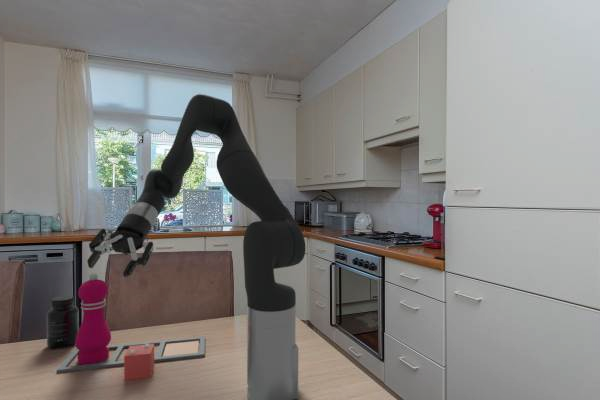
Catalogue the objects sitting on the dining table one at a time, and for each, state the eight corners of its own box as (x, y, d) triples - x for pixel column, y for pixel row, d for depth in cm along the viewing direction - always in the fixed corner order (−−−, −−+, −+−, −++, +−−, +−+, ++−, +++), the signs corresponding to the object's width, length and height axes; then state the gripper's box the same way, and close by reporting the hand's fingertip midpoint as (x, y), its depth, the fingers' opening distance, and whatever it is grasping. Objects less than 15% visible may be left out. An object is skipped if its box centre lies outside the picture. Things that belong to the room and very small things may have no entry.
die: (154, 366, 77) (154, 341, 77) (150, 377, 72) (150, 350, 72) (129, 368, 76) (129, 343, 76) (124, 380, 71) (124, 353, 71)
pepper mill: (94, 367, 77) (94, 277, 76) (67, 364, 78) (67, 275, 78) (118, 353, 84) (118, 270, 84) (92, 350, 85) (92, 269, 85)
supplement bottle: (52, 340, 91) (52, 295, 91) (82, 337, 93) (82, 293, 93) (41, 351, 85) (42, 302, 85) (74, 347, 87) (74, 300, 87)
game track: (204, 338, 92) (204, 336, 92) (204, 356, 82) (204, 354, 82) (75, 351, 85) (75, 348, 85) (56, 372, 74) (56, 370, 74)
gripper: (111, 206, 92) (74, 254, 81) (163, 220, 94) (135, 270, 82) (114, 223, 98) (80, 271, 86) (164, 237, 99) (137, 286, 87)
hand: (107, 270), depth 84 cm, fingers open, 8 cm apart
